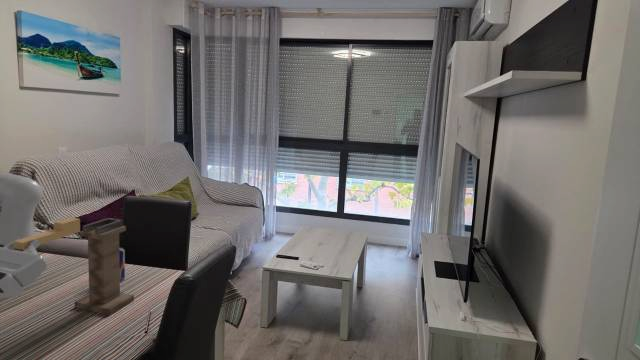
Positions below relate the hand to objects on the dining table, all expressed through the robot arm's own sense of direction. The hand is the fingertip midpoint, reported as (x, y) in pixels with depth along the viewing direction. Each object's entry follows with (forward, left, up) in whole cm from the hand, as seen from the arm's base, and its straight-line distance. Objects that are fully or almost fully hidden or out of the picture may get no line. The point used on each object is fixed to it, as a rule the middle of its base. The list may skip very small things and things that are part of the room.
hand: (30, 240), depth 108 cm
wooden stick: (0, +6, -1) cm, 6 cm away
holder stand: (0, +26, -30) cm, 40 cm away
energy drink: (-10, +43, -31) cm, 54 cm away
